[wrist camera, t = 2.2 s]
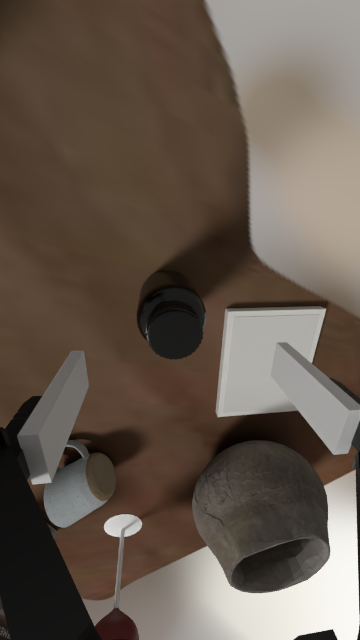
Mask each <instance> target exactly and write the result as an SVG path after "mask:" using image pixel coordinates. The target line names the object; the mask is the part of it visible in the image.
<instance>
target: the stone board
mask: <svg viewBox="0 0 360 640" xmlns="http://www.w3.org/2000/svg"><path fill="white" fill-rule="evenodd" d="M325 312H326V309H325V308H323V307H321V306H308V307H268V308H227V309H225V319H224V330H223V340H222V351H221V361H220V372H219V383H218V393H217V404H216V414H217V416H218V417H224V416H236V415H249V414H262V413H274V412H287V411H298V409H297V408H296V407H295V406H294V404H293V403H292V402H291V401H290V399H289V398H288V397H287V396H286V394H285V393H284V392H283V391H282V389H281V388H280V387H279V386H278V384H277V383H276V382H275V381H274V379H273V378H272V377H271V370H272V365H273V359H274V354H275V349H276V343H280V342H287V343H288V344H290V345H291V346H292V347H293V348H294V349H295V350H297V351H298V352H299V353H300V354H301V355H302V356H303V357H305V358H306V359H307V360H308V361H309V362H310V363H312V361H313V357H314V353H315V349H316V346H317V342H318V338H319V334H320V331H321V327H322V323H323V319H324V316H325Z"/></svg>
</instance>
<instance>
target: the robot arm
mask: <svg viewBox="0 0 360 640" xmlns="http://www.w3.org/2000/svg"><path fill="white" fill-rule="evenodd" d="M271 377H272V378H273V379H274V381H275V382H276V383H277V384H278V386H279V387H280V388H281V389H282V391H283V392H284V393H285V394H286V396H287V397H288V398H289V399H290V401H291V402H292V403H293V404H294V406H295V407H296V408H297V409H298V411H299V412H300V413H301V414H302V416H303V417H304V418H305V419H306V421H307V422H308V423H309V424H310V426H311V427H312V428H313V430H314V431H315V432H316V433H317V435H318V436H319V437H320V438H321V440H322V441H323V442H324V443H325V445H326V446H327V447H328V448H329V450H330V451H331V452H332V453H333V455H337V454H347V453H348V452H349V449H350V447H351V444H352V445H353V446H354V447H355V448H356V449H357V450H358V451H357V453H356V456H355V458H354V461H353V463H352V466H351V468H353V469H354V467H355V465H356V497H357V534H358V570H359V571H358V573H359V611H360V398H358V397H357V396H356V395H354V393H352V392H351V391H350V390H348V388H346V387H345V386H344V385H343V384H342V383H340V382H338V381H336V380H334V379H332V378H328V377H327V376H326V375H324V374H323V373H322V372H321V371H320V370H319V369H317V368H316V367H315V366H314V365H313V364H312V363H310V362H309V361H308V360H307V359H306V358H305V357H303V356H302V355H301V354H300V353H299V352H298V351H297V350H295V349H294V348H293V347H292V346H291V345H290V344H288V343H287V342H280V343H276V349H275V354H274V359H273V365H272V370H271ZM88 387H89V383H88V376H87V370H86V363H85V357H84V350H81V351H71V352H70V354H69V355H68V357H67V358H66V360H65V361H64V363H63V365H62V366H61V368H60V369H59V371H58V372H57V374H56V376H55V377H54V379H53V380H52V382H51V383H50V385H49V387H48V388H47V390H46V391H45V393H44V394H43V396H32V397H31V398H30V399H28V400H27V401H26V402H25V403H23V405H22V406H21V407H20V409H19V410H18V411H17V413H16V414H15V416H14V417H13V420H11V421H10V423H9V424H8V425H7V427H6V428H5V429H4V428H3V427H0V598H1V602H2V606H3V610H4V614H5V618H6V622H7V627H8V631H9V635H10V639H11V640H102V638H101V636H100V635H99V633H98V632H97V630H96V629H95V627H94V625H93V623H92V620H91V618H90V616H89V614H88V612H87V610H86V608H85V605H84V603H83V601H82V599H81V597H80V594H79V592H78V590H77V588H76V586H75V584H74V581H73V579H72V577H71V575H70V573H69V571H68V568H67V566H66V564H65V562H64V560H63V557H62V555H61V553H60V551H59V549H58V547H57V544H56V542H55V540H54V538H53V536H52V534H51V531H50V529H49V527H48V525H47V523H46V521H45V518H44V516H43V514H42V512H41V510H40V508H39V505H38V503H37V501H36V499H35V497H34V495H33V492H32V490H31V488H30V486H29V484H28V482H27V480H28V478H29V476H30V478H31V481H32V484H43V483H52V480H53V478H54V475H55V472H56V470H57V467H58V465H59V462H60V459H61V457H62V454H63V452H64V449H65V447H66V444H67V441H68V439H69V436H70V434H71V431H72V428H73V426H74V423H75V421H76V418H77V415H78V413H79V410H80V408H81V405H82V403H83V400H84V397H85V395H86V392H87V390H88ZM294 640H337V638H336V636H335V633H334V631H333V630H327V631H322V632H316V633H312V634H306V635H301V636H298V637H297V638H295V639H294ZM357 640H360V626H359V633H358V639H357Z"/></svg>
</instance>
